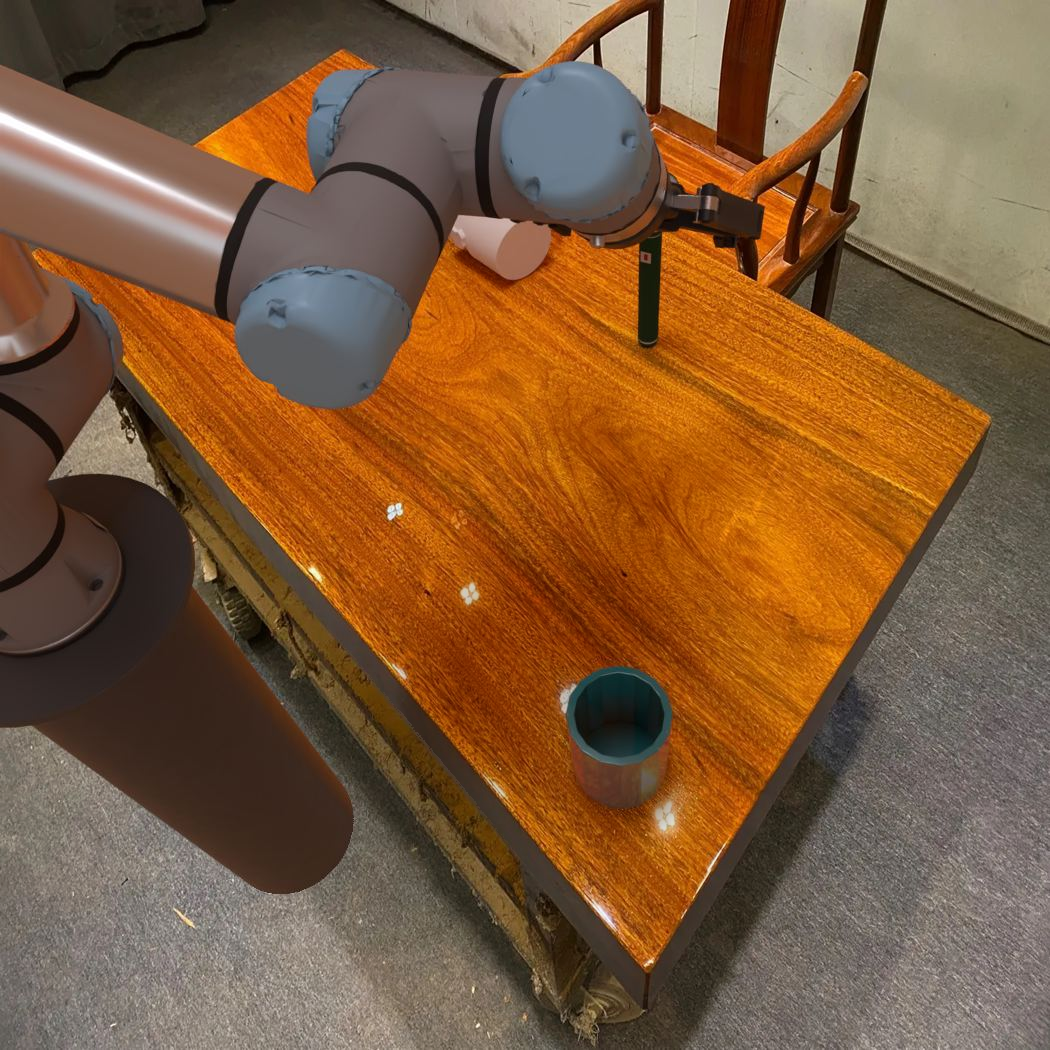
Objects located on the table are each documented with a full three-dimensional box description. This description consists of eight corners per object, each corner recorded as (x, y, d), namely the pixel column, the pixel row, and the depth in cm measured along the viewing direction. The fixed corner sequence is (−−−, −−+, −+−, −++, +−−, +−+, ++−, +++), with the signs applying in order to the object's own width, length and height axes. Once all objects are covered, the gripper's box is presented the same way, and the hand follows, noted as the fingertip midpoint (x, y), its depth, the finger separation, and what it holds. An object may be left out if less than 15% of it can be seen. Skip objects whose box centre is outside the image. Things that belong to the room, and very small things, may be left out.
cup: (608, 827, 73) (605, 785, 65) (555, 750, 77) (546, 701, 69) (686, 774, 75) (693, 727, 66) (630, 701, 79) (631, 648, 70)
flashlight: (617, 351, 102) (615, 195, 85) (635, 320, 104) (636, 163, 87) (661, 364, 100) (667, 207, 83) (678, 332, 102) (688, 174, 86)
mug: (494, 295, 108) (486, 239, 102) (449, 255, 113) (438, 200, 106) (575, 248, 112) (572, 191, 105) (528, 212, 116) (522, 155, 110)
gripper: (427, 230, 65) (503, 258, 85) (795, 258, 60) (782, 281, 80) (435, 115, 63) (510, 172, 84) (813, 135, 58) (795, 190, 79)
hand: (643, 226), depth 82 cm, fingers open, 13 cm apart
